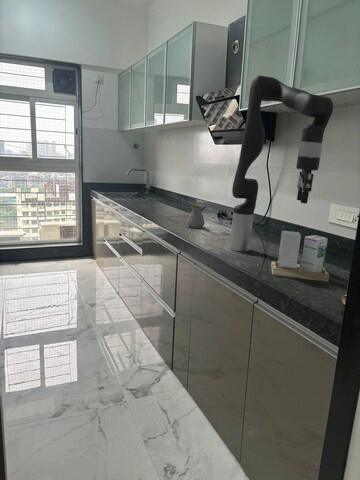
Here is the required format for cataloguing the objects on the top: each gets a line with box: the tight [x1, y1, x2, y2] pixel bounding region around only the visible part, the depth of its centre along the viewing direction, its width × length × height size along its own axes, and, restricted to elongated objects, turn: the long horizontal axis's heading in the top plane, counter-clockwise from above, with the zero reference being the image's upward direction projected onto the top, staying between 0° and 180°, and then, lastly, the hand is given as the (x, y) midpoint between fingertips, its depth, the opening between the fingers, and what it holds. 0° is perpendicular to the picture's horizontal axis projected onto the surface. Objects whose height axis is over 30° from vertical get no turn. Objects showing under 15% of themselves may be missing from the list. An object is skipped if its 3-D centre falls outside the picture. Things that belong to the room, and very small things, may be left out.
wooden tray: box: [270, 260, 330, 282], centre depth 129 cm, size 10×19×4 cm, turn 79°
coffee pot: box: [185, 205, 208, 229], centre depth 212 cm, size 21×12×15 cm, turn 16°
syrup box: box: [301, 235, 328, 273], centre depth 127 cm, size 6×6×14 cm
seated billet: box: [277, 230, 302, 270], centre depth 129 cm, size 6×6×15 cm
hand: (301, 201), depth 128 cm, fingers open, 8 cm apart
